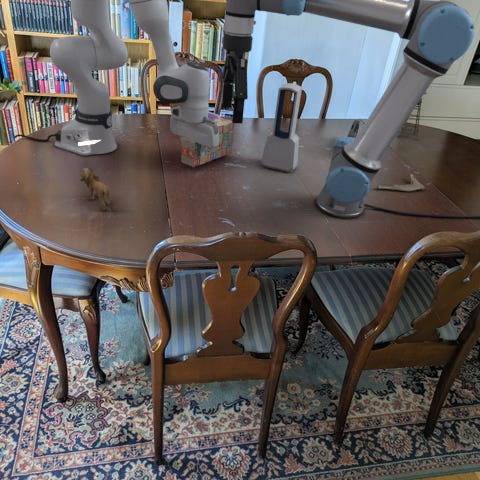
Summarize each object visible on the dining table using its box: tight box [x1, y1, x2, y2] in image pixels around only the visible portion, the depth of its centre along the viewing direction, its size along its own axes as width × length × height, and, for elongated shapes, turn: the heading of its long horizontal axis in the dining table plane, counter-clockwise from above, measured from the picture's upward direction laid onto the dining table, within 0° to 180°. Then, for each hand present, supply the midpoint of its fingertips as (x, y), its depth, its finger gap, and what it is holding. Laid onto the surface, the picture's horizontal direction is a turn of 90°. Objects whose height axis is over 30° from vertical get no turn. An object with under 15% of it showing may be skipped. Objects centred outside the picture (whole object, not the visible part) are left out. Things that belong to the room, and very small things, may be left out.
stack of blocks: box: [180, 117, 235, 168], centre depth 169 cm, size 21×6×12 cm, turn 142°
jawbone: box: [376, 173, 426, 193], centre depth 169 cm, size 9×20×2 cm, turn 126°
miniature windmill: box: [398, 91, 428, 140], centre depth 212 cm, size 9×8×30 cm
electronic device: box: [260, 82, 303, 173], centre depth 167 cm, size 12×8×30 cm, turn 71°
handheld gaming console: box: [346, 119, 361, 138], centre depth 194 cm, size 23×3×10 cm, turn 161°
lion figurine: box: [77, 167, 116, 211], centre depth 139 cm, size 15×5×9 cm, turn 50°
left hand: (193, 152), depth 165 cm, fingers closed on stack of blocks, 6 cm apart
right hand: (231, 114), depth 132 cm, fingers open, 13 cm apart
